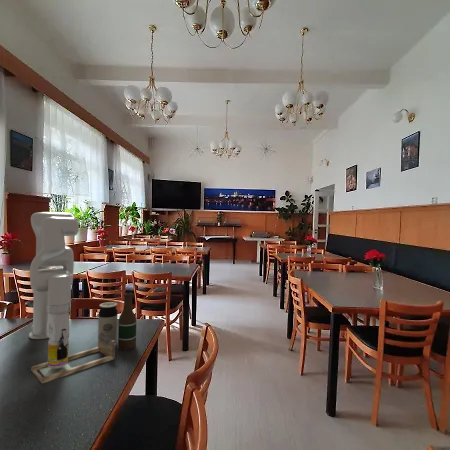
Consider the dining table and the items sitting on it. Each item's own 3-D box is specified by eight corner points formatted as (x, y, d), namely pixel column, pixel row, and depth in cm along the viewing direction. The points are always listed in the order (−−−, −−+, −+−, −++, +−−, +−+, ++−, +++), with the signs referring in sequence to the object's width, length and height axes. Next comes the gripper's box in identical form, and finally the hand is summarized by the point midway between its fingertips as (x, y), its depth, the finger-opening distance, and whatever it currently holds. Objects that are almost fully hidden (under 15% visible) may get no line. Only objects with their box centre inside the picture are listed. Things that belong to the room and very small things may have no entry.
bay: (43, 385, 100) (44, 363, 100) (31, 370, 110) (31, 350, 110) (117, 359, 120) (118, 341, 120) (102, 349, 129) (102, 332, 129)
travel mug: (101, 340, 139) (101, 301, 139) (118, 340, 140) (119, 301, 139) (95, 347, 131) (96, 306, 131) (114, 347, 132) (115, 306, 131)
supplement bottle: (59, 370, 107) (59, 335, 107) (43, 368, 108) (44, 333, 108) (72, 362, 113) (72, 328, 113) (57, 360, 115) (57, 326, 115)
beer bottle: (120, 343, 136) (121, 291, 136) (137, 343, 137) (138, 291, 136) (115, 350, 128) (116, 295, 128) (133, 350, 129) (135, 295, 129)
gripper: (40, 304, 114) (39, 351, 114) (56, 315, 102) (55, 367, 102) (61, 301, 119) (60, 345, 119) (79, 310, 107) (78, 360, 108)
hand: (58, 355), depth 111 cm, fingers closed on supplement bottle, 6 cm apart
